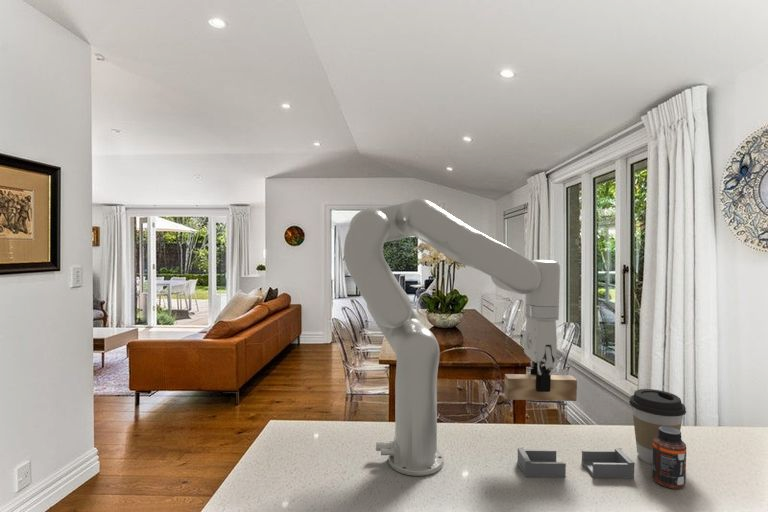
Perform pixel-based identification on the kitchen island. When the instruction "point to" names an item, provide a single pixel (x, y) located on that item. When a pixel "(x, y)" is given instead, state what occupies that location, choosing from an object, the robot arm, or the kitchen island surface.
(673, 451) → the supplement bottle
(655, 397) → the coffee cup
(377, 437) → the kitchen island surface
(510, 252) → the robot arm
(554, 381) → the light wood rectangular block
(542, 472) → the cap
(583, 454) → the cap
